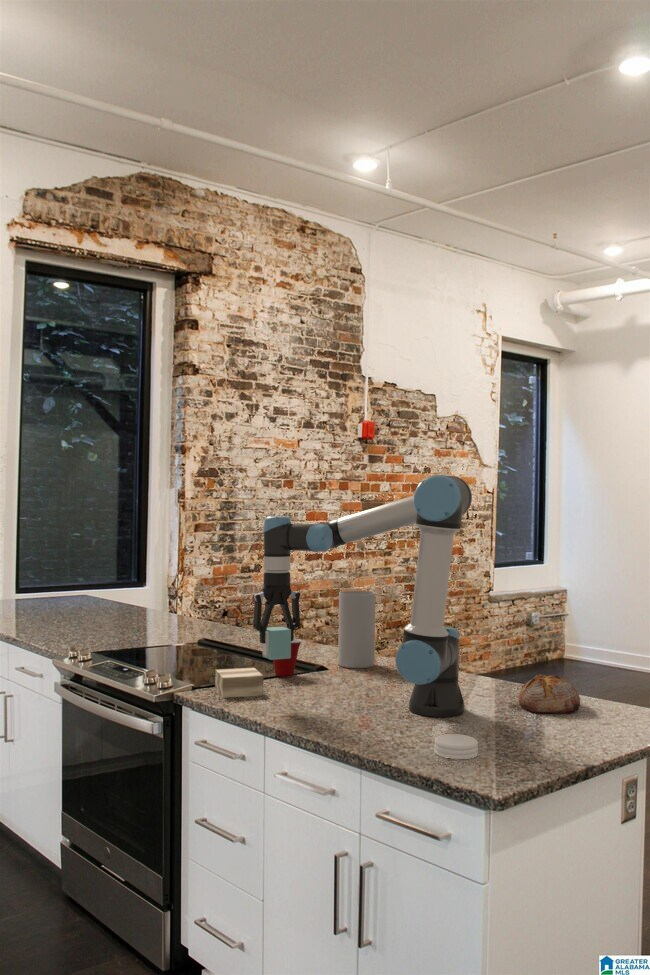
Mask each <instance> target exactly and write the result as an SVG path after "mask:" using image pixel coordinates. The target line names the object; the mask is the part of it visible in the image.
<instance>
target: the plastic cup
mask: <svg viewBox="0 0 650 975" xmlns="http://www.w3.org/2000/svg"><path fill="white" fill-rule="evenodd" d="M302 642H303V639H299V638H294V640H293V641H291V658H288V659H277V660H272V662H273V666H274V669H273V670H274V673H275V674H274V675H275V676H276V677H278V678H279V677H280V678H289V677H293V676H294V673H295V669H296V665H297V664H296V663H297V660H298V653H299V649H300V646H301V643H302Z"/></svg>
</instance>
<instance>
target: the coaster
mask: <svg viewBox="0 0 650 975" xmlns="http://www.w3.org/2000/svg"><path fill="white" fill-rule="evenodd" d="M478 745H479V741H478V739H476V737H475V738H474V736H473V737H472V736H470V735H465V734H461V733H460V734H459V733H447V734H446V733H445V734H441V735H438V736H436V737H435V738H434V746H433V747H434V751H433V752H434V754H435V753H436V754H437V755H439V756H442V757H448V758H453V759H469V760H471V759H470V758H473V759H475V758H477V757H478V754H479V752H478V750H479V747H478ZM436 754H435V755H436ZM437 755H436V756H437ZM439 756H438V757H439ZM442 757H441V758H442ZM474 757H475V758H474Z"/></svg>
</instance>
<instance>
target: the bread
mask: <svg viewBox="0 0 650 975" xmlns="http://www.w3.org/2000/svg"><path fill="white" fill-rule="evenodd" d="M518 703H519V706H521V708H522V709H524V710H527V711H528V712H531V713H535V714H573V713H575V712H576V711H578V709H579V708H580V706H581V697H580V694H579V693H578V691H577V689H576V687H574V686H573V685H572V684H571V683H570V682H568V681H567V680H566V679H564V678H563V676H558V675H546V674H540V673H537V674H536V675H535V676H533V677H532V679H530V680H529V681H527V682H526V683H525V684H523V685H522V686H521V689H520V691H519V695H518Z"/></svg>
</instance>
